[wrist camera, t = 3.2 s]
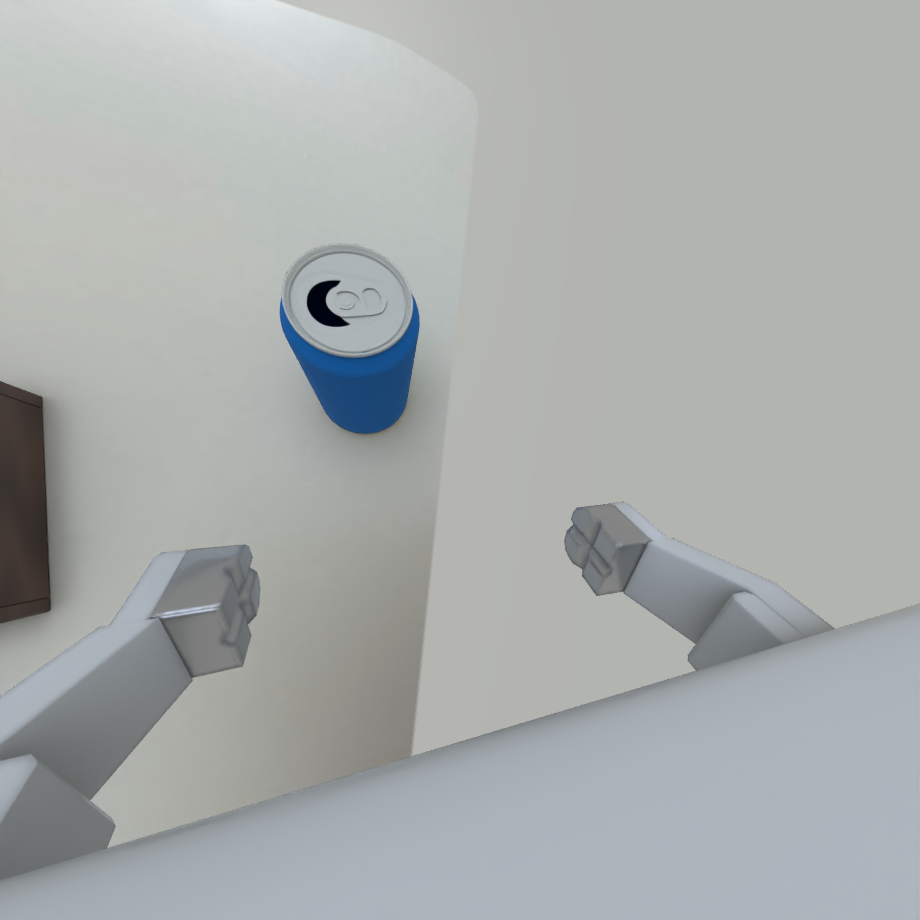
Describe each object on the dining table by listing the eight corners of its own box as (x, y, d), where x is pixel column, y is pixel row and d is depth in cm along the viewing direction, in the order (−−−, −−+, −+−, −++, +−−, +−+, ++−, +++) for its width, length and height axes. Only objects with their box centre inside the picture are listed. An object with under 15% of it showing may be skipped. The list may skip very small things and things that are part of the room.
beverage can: (314, 363, 26) (259, 237, 15) (397, 353, 28) (405, 232, 16) (330, 443, 25) (283, 374, 14) (414, 428, 27) (436, 355, 15)
